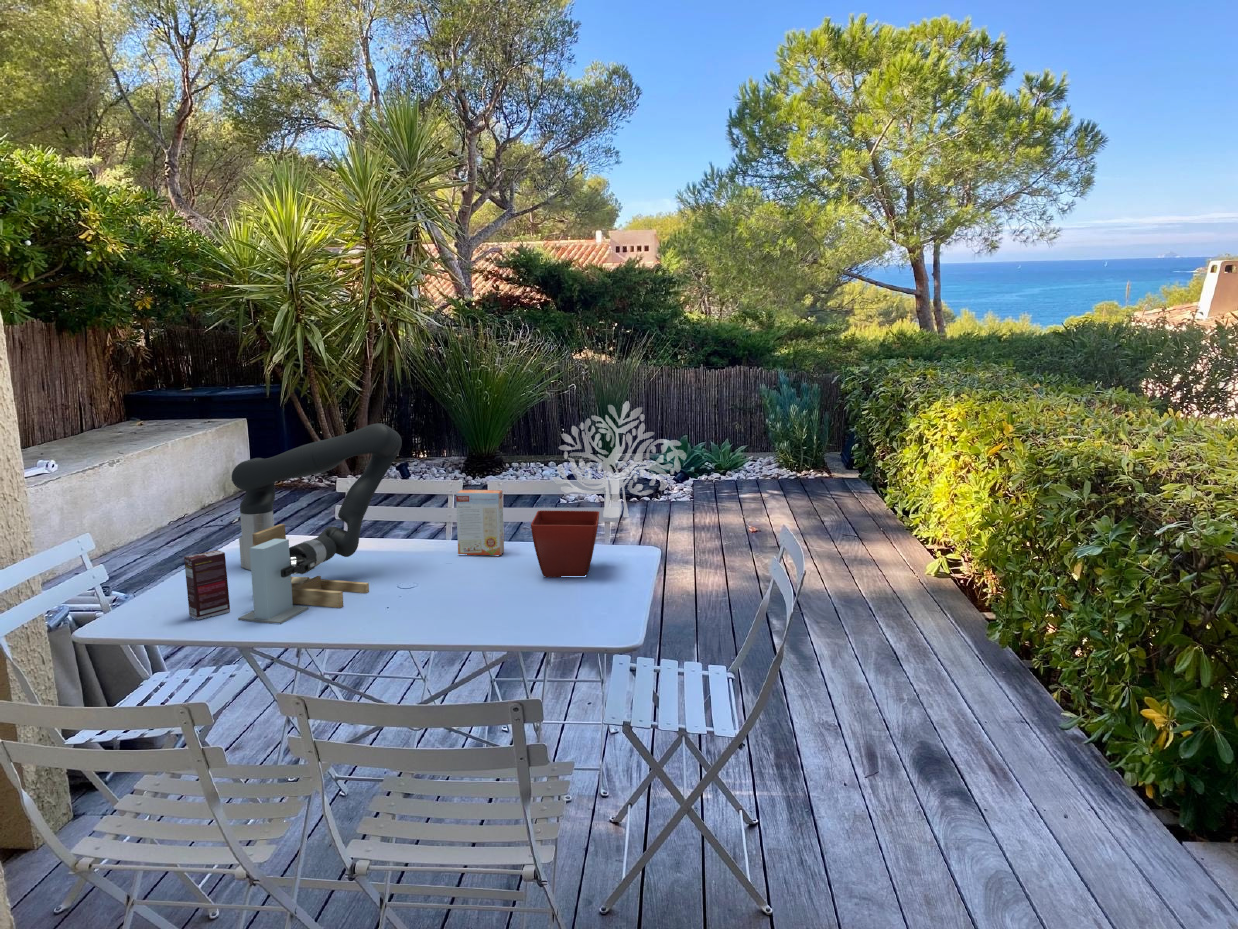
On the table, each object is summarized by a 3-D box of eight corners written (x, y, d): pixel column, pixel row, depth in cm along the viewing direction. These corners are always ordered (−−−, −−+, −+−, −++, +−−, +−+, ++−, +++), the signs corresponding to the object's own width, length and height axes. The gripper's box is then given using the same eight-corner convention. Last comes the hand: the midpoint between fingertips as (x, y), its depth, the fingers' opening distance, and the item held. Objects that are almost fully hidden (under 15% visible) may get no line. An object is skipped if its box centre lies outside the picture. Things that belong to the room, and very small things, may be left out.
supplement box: (221, 608, 223) (217, 549, 221) (230, 612, 220) (226, 552, 218) (187, 617, 217) (183, 556, 214) (196, 621, 214) (191, 559, 211)
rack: (253, 600, 230) (249, 535, 227) (286, 584, 244) (283, 523, 241) (340, 607, 224) (336, 540, 221) (369, 591, 238) (366, 528, 235)
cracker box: (504, 552, 279) (503, 489, 276) (500, 557, 273) (498, 492, 270) (462, 551, 281) (460, 488, 277) (457, 556, 275) (455, 492, 272)
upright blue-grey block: (254, 617, 214) (249, 548, 211) (279, 605, 224) (275, 538, 221) (268, 619, 213) (263, 549, 210) (292, 606, 223) (288, 539, 220)
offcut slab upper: (287, 590, 232) (286, 583, 232) (295, 583, 238) (294, 576, 238) (301, 590, 232) (301, 583, 232) (309, 583, 238) (309, 577, 238)
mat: (238, 620, 214) (238, 618, 214) (268, 605, 226) (268, 603, 226) (280, 624, 211) (280, 622, 211) (308, 609, 223) (308, 606, 223)
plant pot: (597, 581, 247) (596, 524, 245) (531, 581, 248) (530, 524, 245) (599, 563, 266) (599, 510, 263) (538, 563, 266) (537, 510, 264)
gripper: (281, 540, 232) (241, 556, 216) (328, 544, 229) (291, 560, 213) (283, 567, 233) (243, 584, 218) (329, 571, 230) (292, 589, 214)
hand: (267, 572), depth 215 cm, fingers open, 8 cm apart
